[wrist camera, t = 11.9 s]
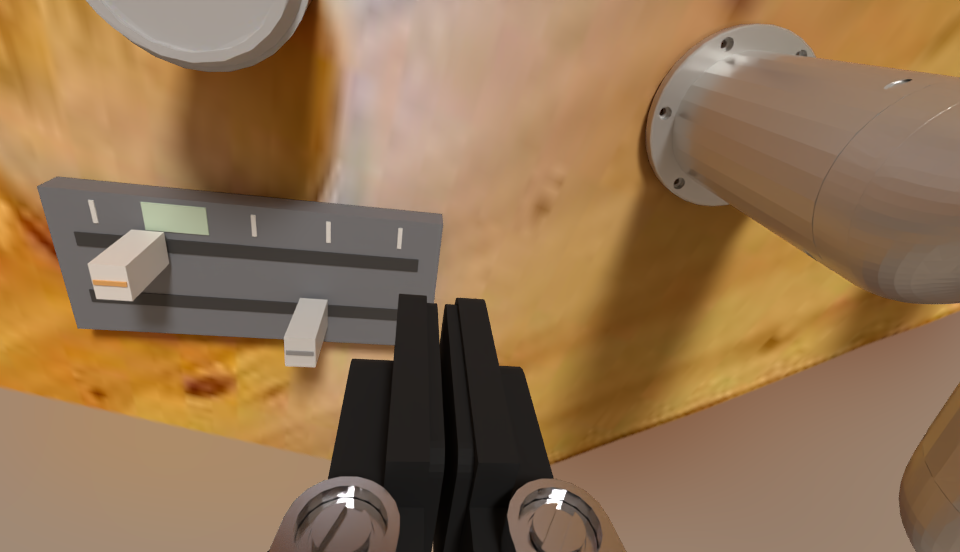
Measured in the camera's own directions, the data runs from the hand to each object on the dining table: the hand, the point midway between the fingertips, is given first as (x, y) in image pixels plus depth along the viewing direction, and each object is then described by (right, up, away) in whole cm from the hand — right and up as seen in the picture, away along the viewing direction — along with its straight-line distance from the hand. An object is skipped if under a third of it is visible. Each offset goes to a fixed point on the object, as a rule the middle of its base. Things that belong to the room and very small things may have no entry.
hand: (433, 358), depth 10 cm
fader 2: (-12, -1, +28) cm, 30 cm away
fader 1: (-22, +4, +24) cm, 32 cm away
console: (-15, +3, +28) cm, 32 cm away
